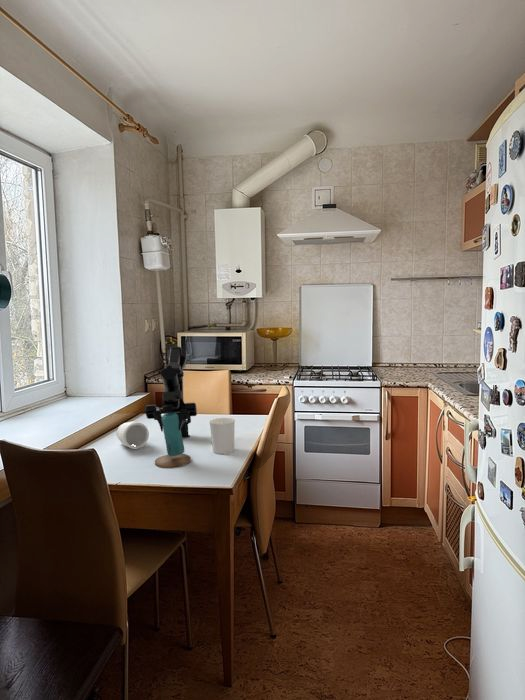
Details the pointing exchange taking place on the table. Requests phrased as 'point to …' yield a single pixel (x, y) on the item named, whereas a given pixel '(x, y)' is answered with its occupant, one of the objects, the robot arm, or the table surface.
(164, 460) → the walnut coaster
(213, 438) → the white cup
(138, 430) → the jar
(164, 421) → the beverage bottle
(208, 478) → the table surface
